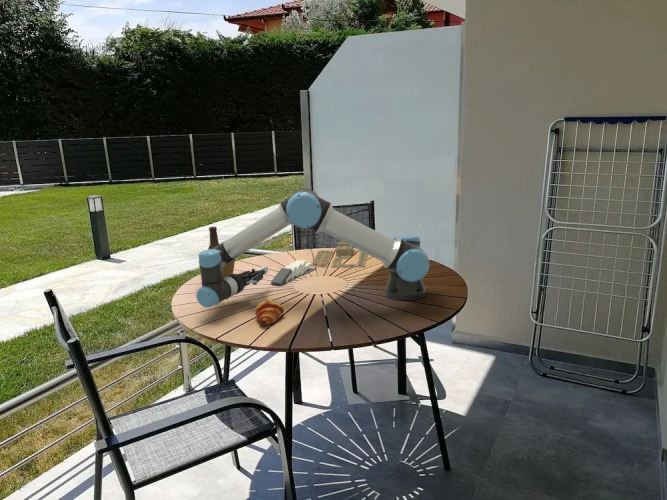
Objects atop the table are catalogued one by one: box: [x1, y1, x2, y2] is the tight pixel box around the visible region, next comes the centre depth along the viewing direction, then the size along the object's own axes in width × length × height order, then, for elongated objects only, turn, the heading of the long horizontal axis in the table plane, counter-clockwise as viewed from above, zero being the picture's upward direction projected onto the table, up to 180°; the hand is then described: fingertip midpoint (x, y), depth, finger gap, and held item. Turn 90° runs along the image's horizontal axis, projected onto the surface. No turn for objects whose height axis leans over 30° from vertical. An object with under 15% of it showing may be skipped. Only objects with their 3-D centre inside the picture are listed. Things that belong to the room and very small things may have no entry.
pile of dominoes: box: [311, 241, 368, 269], centre depth 260 cm, size 35×27×6 cm
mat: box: [302, 267, 317, 275], centre depth 241 cm, size 9×8×1 cm
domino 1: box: [270, 267, 292, 287], centre depth 224 cm, size 2×5×10 cm
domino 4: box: [294, 259, 308, 278], centre depth 236 cm, size 2×5×10 cm
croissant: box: [254, 299, 285, 326], centre depth 183 cm, size 21×10×8 cm, turn 179°
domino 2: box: [283, 264, 297, 284], centre depth 228 cm, size 2×5×10 cm
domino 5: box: [298, 262, 312, 276], centre depth 239 cm, size 2×5×10 cm
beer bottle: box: [207, 226, 221, 250], centre depth 233 cm, size 8×8×24 cm
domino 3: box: [289, 261, 302, 281], centre depth 232 cm, size 2×5×10 cm
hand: (266, 269), depth 214 cm, fingers closed
